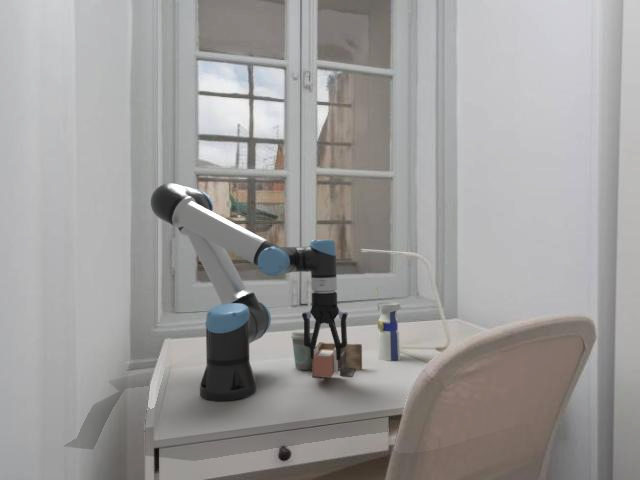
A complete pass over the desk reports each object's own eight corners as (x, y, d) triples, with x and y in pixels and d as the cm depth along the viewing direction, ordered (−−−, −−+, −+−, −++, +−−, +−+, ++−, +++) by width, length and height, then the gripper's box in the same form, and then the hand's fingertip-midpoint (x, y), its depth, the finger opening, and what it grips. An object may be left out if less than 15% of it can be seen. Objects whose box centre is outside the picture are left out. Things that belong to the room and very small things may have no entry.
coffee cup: (286, 367, 134) (285, 330, 134) (306, 362, 140) (305, 327, 140) (302, 373, 128) (302, 334, 128) (322, 367, 134) (322, 330, 134)
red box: (313, 376, 116) (313, 356, 116) (322, 367, 125) (321, 349, 125) (330, 377, 115) (330, 357, 115) (337, 368, 124) (337, 349, 124)
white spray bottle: (385, 362, 138) (384, 289, 138) (372, 356, 146) (372, 286, 146) (405, 359, 141) (404, 287, 141) (392, 354, 149) (391, 285, 149)
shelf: (312, 377, 124) (311, 350, 124) (319, 366, 135) (319, 342, 135) (357, 379, 121) (357, 352, 121) (362, 368, 132) (361, 344, 132)
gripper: (291, 293, 119) (293, 373, 118) (353, 293, 115) (355, 375, 114) (298, 290, 126) (299, 365, 125) (356, 290, 122) (358, 367, 122)
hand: (326, 370), depth 120 cm, fingers closed on red box, 5 cm apart
